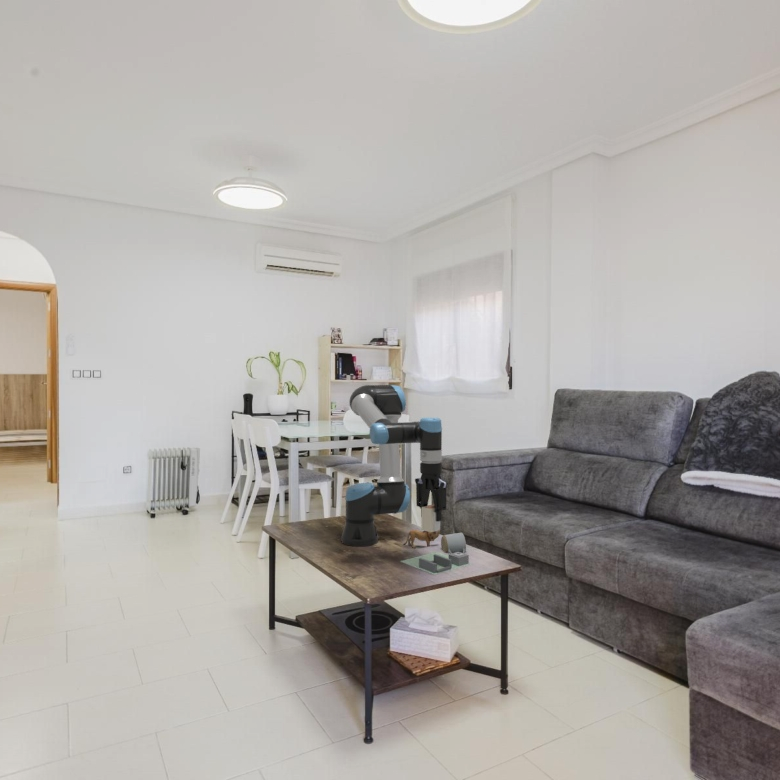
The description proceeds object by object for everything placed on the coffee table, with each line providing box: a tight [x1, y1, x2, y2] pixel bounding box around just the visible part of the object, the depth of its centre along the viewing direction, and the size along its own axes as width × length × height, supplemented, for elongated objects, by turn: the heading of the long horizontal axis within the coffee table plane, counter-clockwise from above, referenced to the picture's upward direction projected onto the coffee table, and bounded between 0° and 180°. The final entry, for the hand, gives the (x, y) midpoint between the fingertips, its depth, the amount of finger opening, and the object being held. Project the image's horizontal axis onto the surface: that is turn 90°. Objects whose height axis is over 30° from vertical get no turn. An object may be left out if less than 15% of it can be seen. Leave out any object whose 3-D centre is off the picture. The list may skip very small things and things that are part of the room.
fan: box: [448, 552, 470, 566], centre depth 199 cm, size 5×5×4 cm
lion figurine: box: [402, 529, 441, 549], centre depth 222 cm, size 15×5×9 cm, turn 81°
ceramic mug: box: [440, 532, 467, 555], centre depth 213 cm, size 11×8×8 cm
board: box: [399, 551, 471, 576], centre depth 199 cm, size 18×18×1 cm
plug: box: [421, 504, 435, 532], centre depth 194 cm, size 4×4×9 cm
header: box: [419, 554, 452, 574], centre depth 194 cm, size 9×8×3 cm
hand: (431, 528), depth 194 cm, fingers closed on plug, 4 cm apart
